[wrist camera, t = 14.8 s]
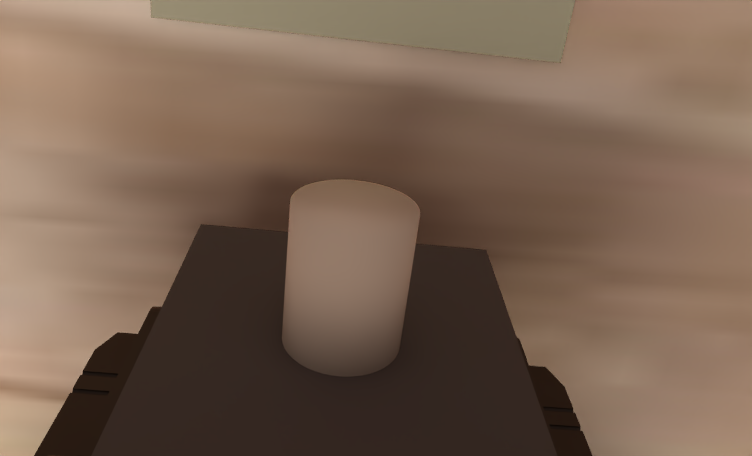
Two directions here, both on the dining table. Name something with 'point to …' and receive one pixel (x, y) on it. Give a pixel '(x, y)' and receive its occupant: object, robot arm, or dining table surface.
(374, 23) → the pad
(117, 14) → the dining table surface
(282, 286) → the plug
